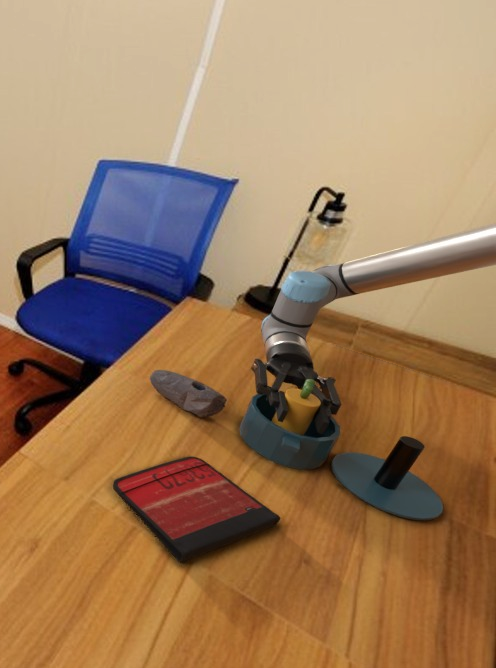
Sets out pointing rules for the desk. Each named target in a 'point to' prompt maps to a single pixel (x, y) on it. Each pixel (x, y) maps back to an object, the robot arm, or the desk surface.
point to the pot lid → (389, 481)
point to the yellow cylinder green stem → (299, 409)
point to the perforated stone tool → (188, 393)
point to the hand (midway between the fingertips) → (302, 421)
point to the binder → (192, 506)
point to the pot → (286, 437)
